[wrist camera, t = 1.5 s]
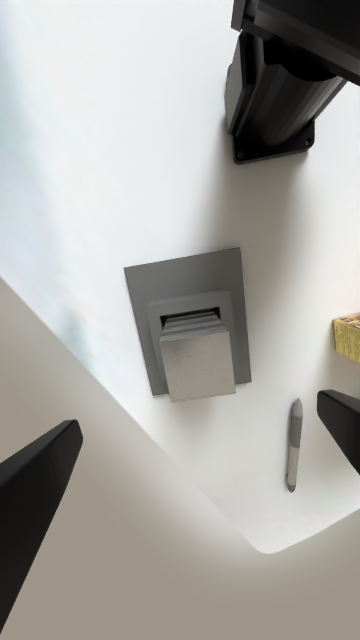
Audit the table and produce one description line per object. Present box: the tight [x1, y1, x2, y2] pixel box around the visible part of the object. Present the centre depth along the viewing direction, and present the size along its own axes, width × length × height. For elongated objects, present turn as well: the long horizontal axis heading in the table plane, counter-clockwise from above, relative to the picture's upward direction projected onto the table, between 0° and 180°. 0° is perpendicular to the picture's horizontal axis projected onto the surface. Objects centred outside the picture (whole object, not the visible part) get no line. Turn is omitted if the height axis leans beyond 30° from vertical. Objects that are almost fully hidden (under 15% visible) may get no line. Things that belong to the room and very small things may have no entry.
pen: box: [286, 398, 303, 493], centre depth 23 cm, size 1×14×1 cm, turn 5°
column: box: [159, 308, 236, 402], centre depth 15 cm, size 4×4×8 cm
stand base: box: [124, 247, 251, 396], centre depth 17 cm, size 11×14×5 cm
